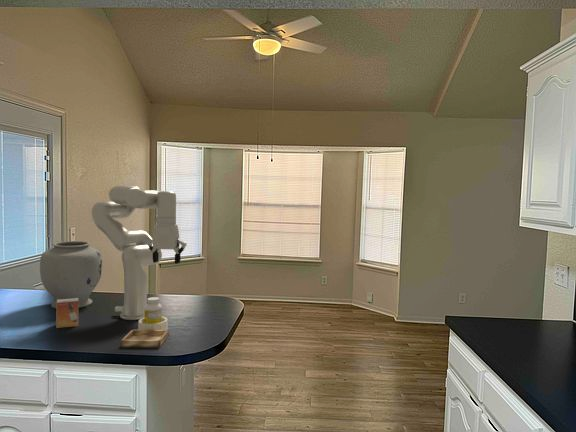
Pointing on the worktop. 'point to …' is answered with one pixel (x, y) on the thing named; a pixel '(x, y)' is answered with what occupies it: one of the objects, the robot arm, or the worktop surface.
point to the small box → (67, 313)
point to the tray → (145, 338)
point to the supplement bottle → (153, 311)
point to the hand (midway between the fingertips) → (166, 262)
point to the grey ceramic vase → (71, 271)
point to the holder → (153, 325)
